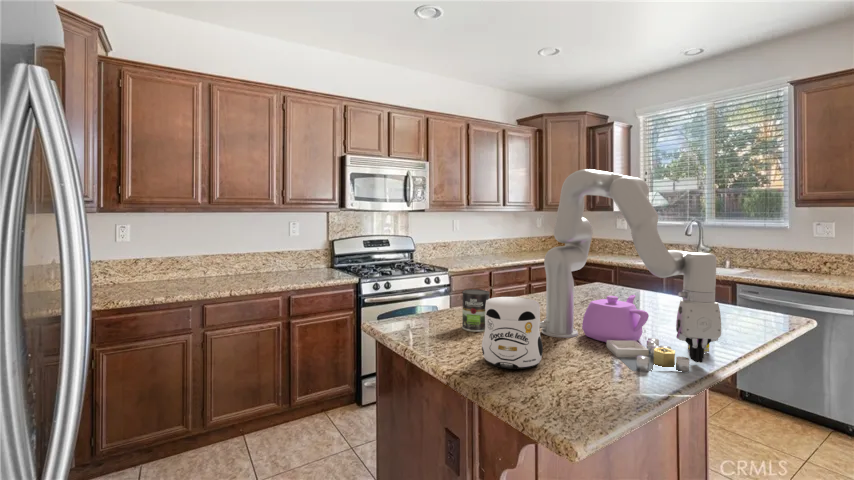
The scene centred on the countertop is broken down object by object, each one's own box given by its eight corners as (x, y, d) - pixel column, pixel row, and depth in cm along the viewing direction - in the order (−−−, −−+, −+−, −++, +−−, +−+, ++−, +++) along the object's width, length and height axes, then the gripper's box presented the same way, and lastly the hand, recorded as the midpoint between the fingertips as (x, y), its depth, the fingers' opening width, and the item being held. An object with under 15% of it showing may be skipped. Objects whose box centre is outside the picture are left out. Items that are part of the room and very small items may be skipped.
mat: (632, 372, 112) (632, 370, 112) (606, 348, 132) (606, 347, 132) (690, 373, 111) (690, 372, 111) (655, 349, 130) (655, 348, 130)
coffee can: (487, 333, 149) (487, 294, 149) (459, 330, 152) (459, 293, 152) (491, 325, 159) (491, 289, 158) (465, 323, 162) (465, 288, 161)
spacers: (639, 371, 111) (639, 359, 111) (611, 347, 131) (612, 337, 131) (691, 373, 110) (691, 360, 110) (655, 348, 130) (656, 338, 130)
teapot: (633, 354, 126) (634, 306, 126) (574, 337, 144) (575, 295, 143) (670, 341, 139) (671, 297, 138) (612, 327, 157) (613, 288, 156)
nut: (657, 367, 114) (658, 353, 114) (649, 360, 119) (649, 347, 119) (679, 367, 114) (679, 353, 114) (670, 361, 119) (670, 347, 119)
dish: (617, 357, 123) (617, 349, 123) (606, 347, 132) (606, 340, 132) (648, 357, 122) (648, 349, 122) (635, 347, 131) (635, 340, 131)
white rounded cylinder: (497, 377, 109) (498, 310, 107) (472, 356, 125) (472, 297, 124) (554, 370, 113) (555, 306, 112) (523, 350, 130) (523, 294, 129)
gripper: (678, 299, 112) (675, 364, 113) (735, 299, 110) (733, 366, 112) (664, 293, 119) (662, 355, 120) (718, 294, 118) (715, 356, 119)
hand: (696, 360), depth 116 cm, fingers closed
